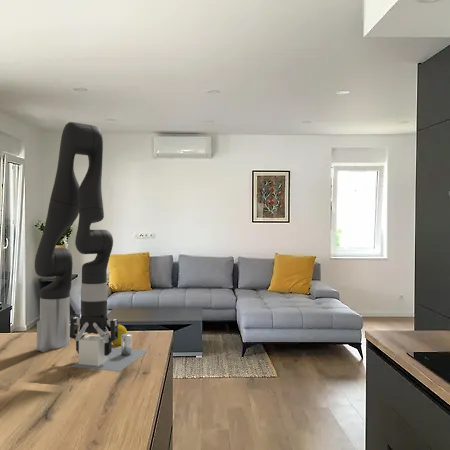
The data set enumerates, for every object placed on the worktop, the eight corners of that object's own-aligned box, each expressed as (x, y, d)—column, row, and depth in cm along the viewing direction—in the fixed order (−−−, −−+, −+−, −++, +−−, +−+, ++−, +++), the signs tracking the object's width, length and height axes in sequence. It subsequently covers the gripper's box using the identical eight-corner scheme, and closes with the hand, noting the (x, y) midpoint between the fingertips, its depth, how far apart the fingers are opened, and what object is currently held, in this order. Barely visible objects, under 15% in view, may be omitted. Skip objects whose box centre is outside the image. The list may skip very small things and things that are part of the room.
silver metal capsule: (119, 355, 153) (119, 335, 153) (123, 352, 156) (124, 333, 156) (129, 356, 152) (129, 336, 152) (133, 353, 155) (133, 334, 155)
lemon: (129, 345, 170) (129, 322, 170) (124, 350, 164) (124, 325, 164) (113, 345, 171) (113, 321, 170) (108, 349, 165) (108, 325, 165)
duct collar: (78, 364, 143) (78, 339, 143) (88, 358, 149) (88, 334, 149) (97, 365, 142) (98, 341, 142) (107, 359, 148) (107, 336, 148)
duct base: (69, 372, 141) (70, 366, 141) (105, 351, 162) (105, 347, 162) (119, 376, 137) (119, 371, 137) (148, 355, 159) (148, 350, 159)
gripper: (65, 299, 143) (64, 355, 143) (111, 301, 140) (110, 359, 140) (78, 295, 150) (77, 349, 151) (122, 297, 147) (122, 352, 148)
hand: (93, 354), depth 145 cm, fingers open, 8 cm apart
